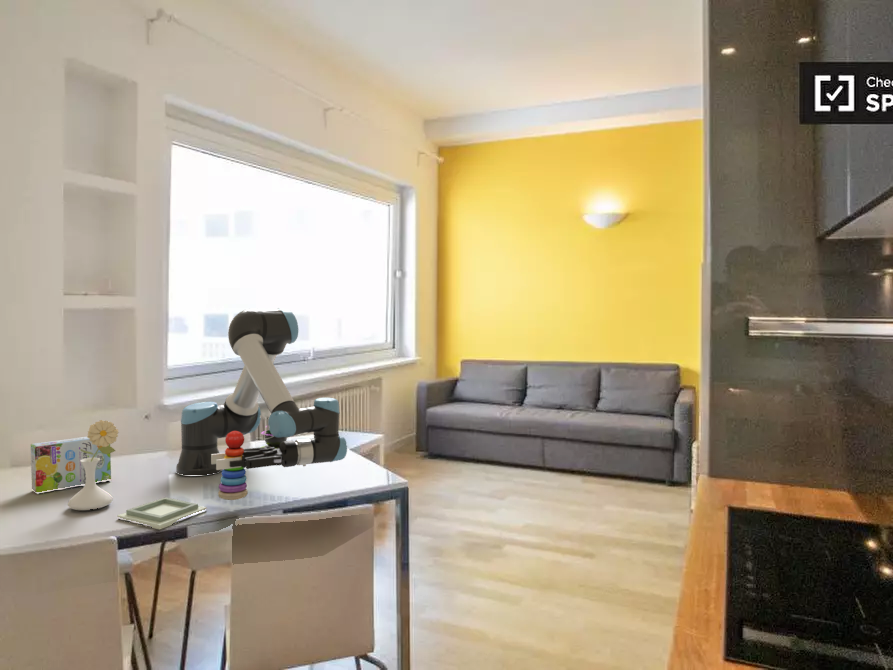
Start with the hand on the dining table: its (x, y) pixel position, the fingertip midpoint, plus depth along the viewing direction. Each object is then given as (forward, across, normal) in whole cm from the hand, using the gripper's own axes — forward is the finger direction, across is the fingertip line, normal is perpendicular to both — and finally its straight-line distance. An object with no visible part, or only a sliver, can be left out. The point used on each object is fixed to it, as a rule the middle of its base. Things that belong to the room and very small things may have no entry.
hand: (214, 462), depth 180 cm
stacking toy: (-5, 0, -11) cm, 12 cm away
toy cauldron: (-38, +67, -16) cm, 78 cm away
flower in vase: (+28, +22, -15) cm, 39 cm away
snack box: (+33, +48, -16) cm, 60 cm away
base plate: (+13, +5, -15) cm, 20 cm away
